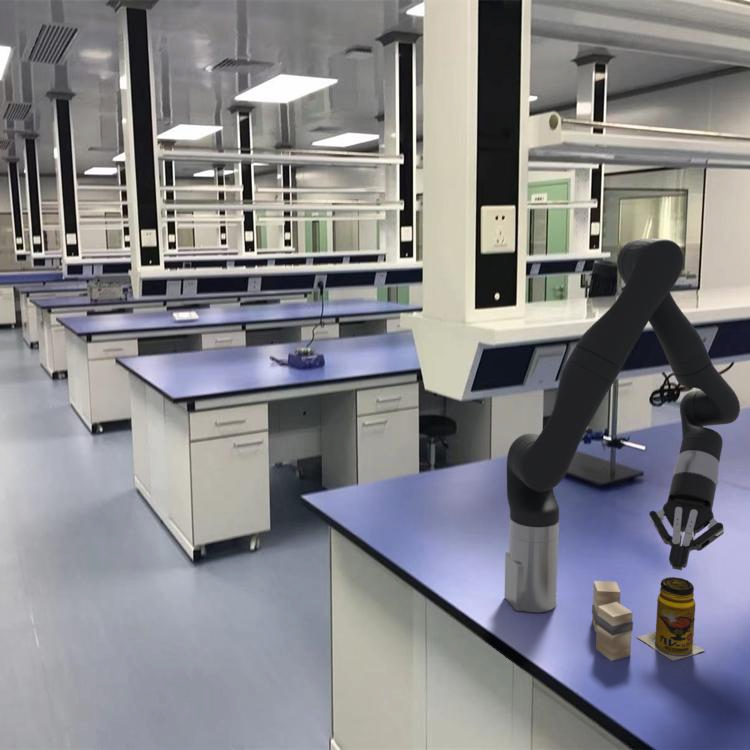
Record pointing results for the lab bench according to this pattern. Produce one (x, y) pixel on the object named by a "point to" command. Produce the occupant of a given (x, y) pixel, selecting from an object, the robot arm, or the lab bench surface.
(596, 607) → the banded post
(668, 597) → the condiment
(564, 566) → the lab bench surface
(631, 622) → the banded post
